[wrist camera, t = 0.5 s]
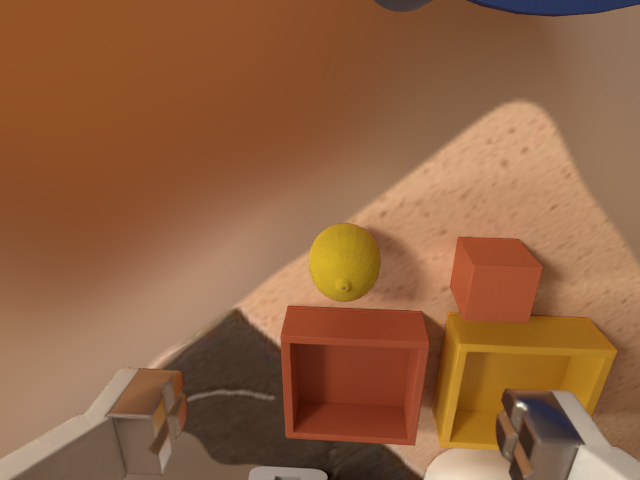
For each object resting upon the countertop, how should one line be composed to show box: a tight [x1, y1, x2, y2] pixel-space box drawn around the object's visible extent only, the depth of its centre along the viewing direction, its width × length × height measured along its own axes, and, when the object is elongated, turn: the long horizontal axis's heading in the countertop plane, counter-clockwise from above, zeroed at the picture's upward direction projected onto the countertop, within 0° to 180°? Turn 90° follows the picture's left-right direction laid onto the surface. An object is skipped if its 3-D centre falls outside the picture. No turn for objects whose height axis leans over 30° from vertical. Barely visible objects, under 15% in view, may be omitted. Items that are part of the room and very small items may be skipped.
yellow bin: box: [432, 312, 617, 451], centre depth 38 cm, size 13×13×4 cm
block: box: [450, 237, 543, 323], centre depth 33 cm, size 5×5×5 cm
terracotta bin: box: [281, 306, 430, 445], centre depth 39 cm, size 13×13×4 cm
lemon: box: [309, 223, 380, 302], centre depth 32 cm, size 6×6×8 cm
